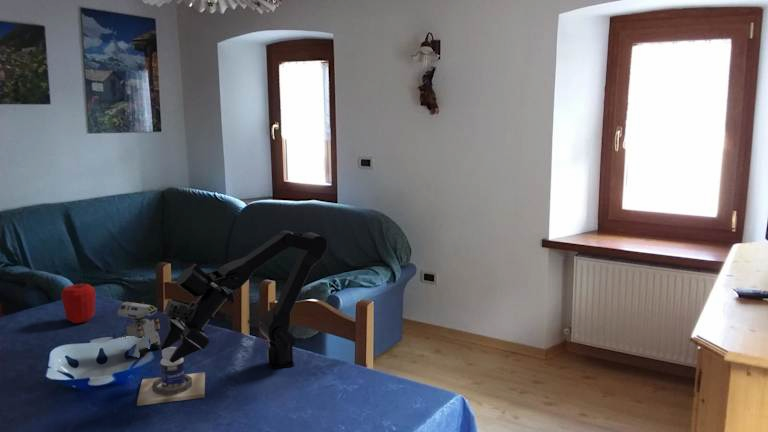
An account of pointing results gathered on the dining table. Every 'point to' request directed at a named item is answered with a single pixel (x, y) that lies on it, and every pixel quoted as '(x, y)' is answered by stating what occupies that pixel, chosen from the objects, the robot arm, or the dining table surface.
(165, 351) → the pill bottle
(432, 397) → the dining table surface
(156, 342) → the figurine
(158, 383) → the collar board
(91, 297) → the apple
